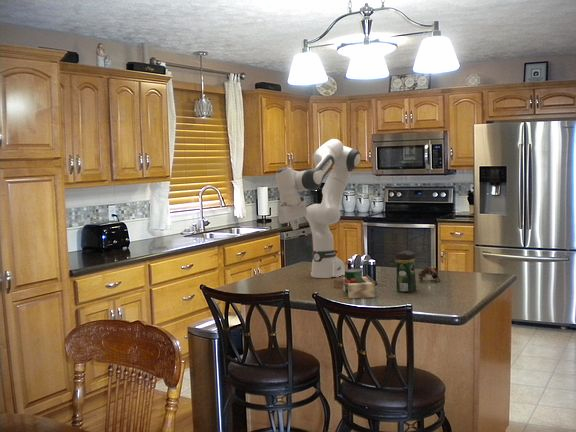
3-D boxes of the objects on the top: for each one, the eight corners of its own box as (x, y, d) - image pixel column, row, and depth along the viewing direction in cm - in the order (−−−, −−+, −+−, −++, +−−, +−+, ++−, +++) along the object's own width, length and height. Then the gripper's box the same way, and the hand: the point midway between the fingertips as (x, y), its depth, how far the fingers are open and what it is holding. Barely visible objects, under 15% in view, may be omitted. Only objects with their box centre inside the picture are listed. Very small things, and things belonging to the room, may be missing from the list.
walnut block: (337, 286, 304) (337, 278, 304) (347, 286, 302) (346, 278, 302) (333, 288, 300) (333, 280, 299) (343, 288, 297) (343, 280, 297)
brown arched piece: (436, 284, 299) (427, 270, 299) (422, 291, 305) (413, 277, 306) (446, 274, 308) (437, 260, 308) (432, 281, 314) (423, 267, 314)
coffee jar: (402, 288, 291) (401, 249, 290) (418, 289, 287) (417, 249, 285) (393, 292, 284) (392, 251, 282) (409, 293, 279) (408, 252, 278)
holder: (349, 298, 274) (349, 283, 273) (343, 290, 293) (343, 276, 292) (375, 297, 274) (374, 281, 274) (367, 288, 293) (367, 274, 293)
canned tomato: (343, 295, 281) (342, 271, 280) (347, 291, 288) (346, 268, 287) (361, 295, 278) (360, 271, 278) (364, 292, 286) (363, 268, 285)
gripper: (283, 203, 286) (289, 232, 287) (306, 196, 302) (312, 224, 303) (272, 205, 289) (278, 234, 290) (295, 198, 306) (301, 225, 307)
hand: (295, 229), depth 297 cm, fingers closed
